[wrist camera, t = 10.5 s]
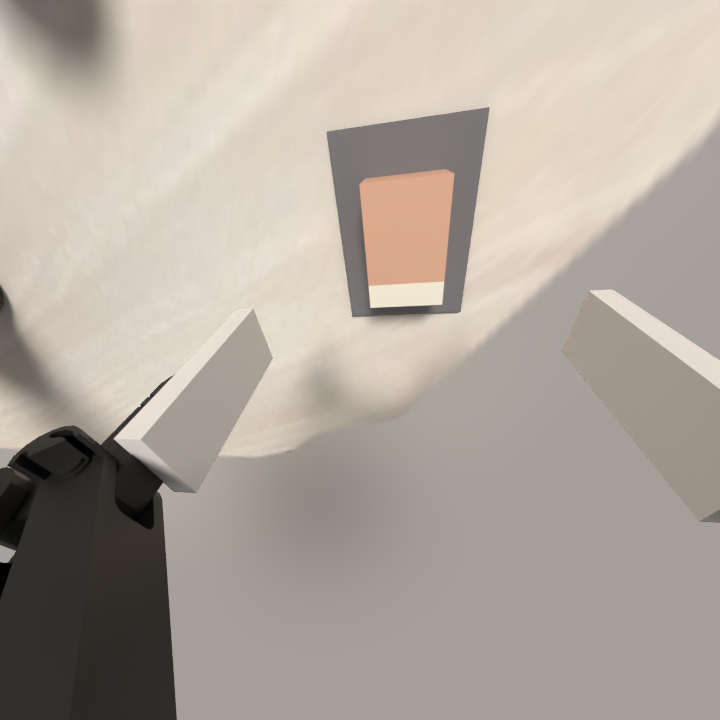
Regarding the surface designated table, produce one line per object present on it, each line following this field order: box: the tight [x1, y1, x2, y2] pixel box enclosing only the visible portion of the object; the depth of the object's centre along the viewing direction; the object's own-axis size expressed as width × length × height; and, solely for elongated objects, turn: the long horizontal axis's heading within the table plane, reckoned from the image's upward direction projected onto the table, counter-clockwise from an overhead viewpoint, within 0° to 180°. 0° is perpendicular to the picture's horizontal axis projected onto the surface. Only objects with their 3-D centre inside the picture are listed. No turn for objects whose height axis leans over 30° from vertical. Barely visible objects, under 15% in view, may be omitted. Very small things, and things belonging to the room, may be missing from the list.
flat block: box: [359, 169, 454, 308], centre depth 21 cm, size 9×6×4 cm, turn 6°
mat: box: [327, 108, 489, 316], centre depth 23 cm, size 11×15×1 cm
